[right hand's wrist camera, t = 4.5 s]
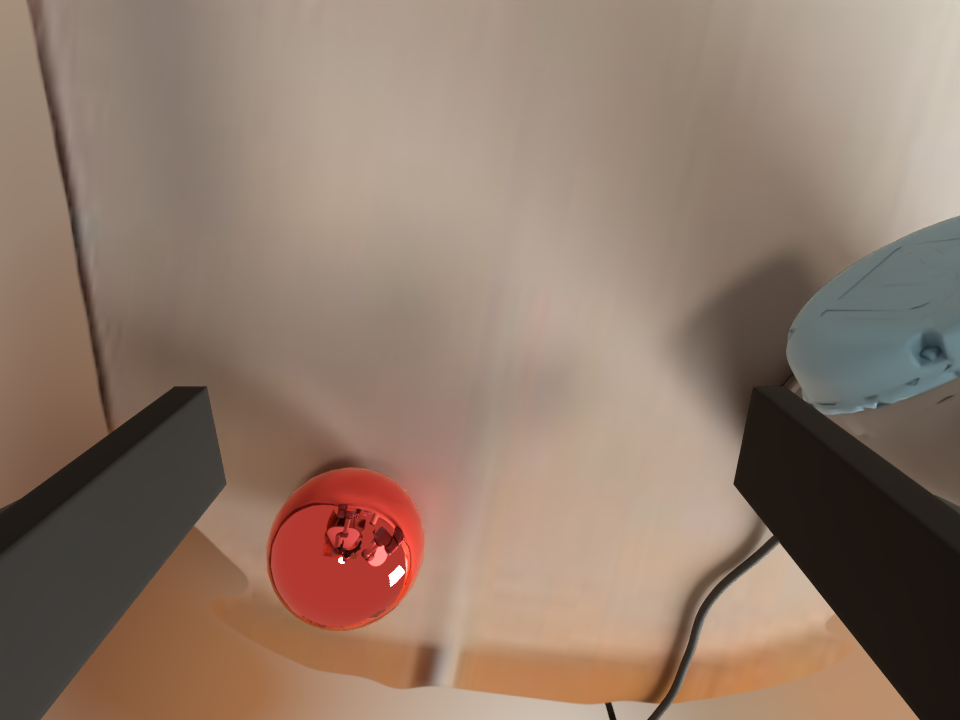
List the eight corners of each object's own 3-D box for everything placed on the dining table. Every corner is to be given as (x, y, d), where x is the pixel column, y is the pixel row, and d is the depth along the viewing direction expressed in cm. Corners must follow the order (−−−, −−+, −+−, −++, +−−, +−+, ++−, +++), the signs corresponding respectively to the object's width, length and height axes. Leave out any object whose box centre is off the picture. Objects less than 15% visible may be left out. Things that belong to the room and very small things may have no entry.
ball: (381, 573, 49) (352, 693, 38) (272, 508, 47) (206, 616, 36) (458, 489, 46) (451, 594, 35) (345, 414, 43) (298, 502, 32)
